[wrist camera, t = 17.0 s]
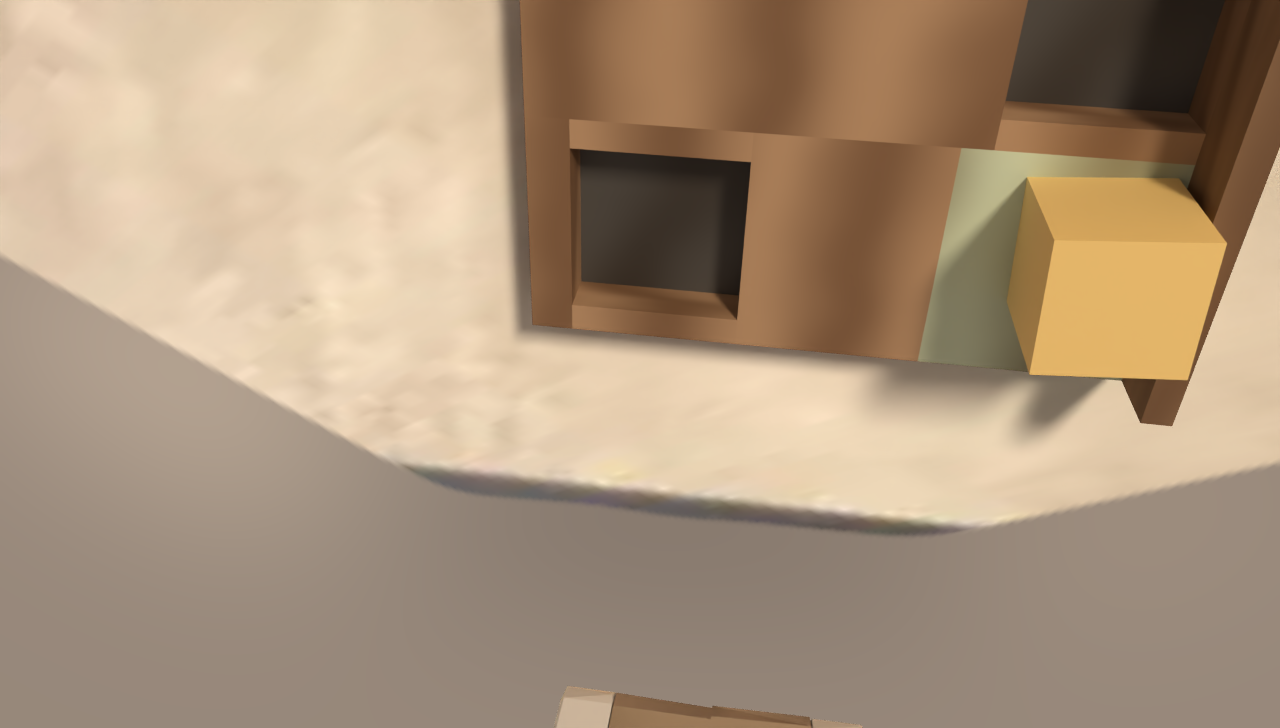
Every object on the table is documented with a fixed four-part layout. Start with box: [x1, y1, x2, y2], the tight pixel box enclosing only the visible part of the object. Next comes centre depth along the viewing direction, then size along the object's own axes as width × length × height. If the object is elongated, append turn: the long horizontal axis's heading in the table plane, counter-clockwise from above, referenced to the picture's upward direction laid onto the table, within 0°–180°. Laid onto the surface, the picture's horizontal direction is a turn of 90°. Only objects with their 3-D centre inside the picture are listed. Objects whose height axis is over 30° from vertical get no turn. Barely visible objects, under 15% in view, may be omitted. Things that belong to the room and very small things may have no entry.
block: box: [1007, 177, 1227, 380], centre depth 32 cm, size 4×4×4 cm
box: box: [520, 0, 1280, 426], centre depth 32 cm, size 22×16×4 cm
